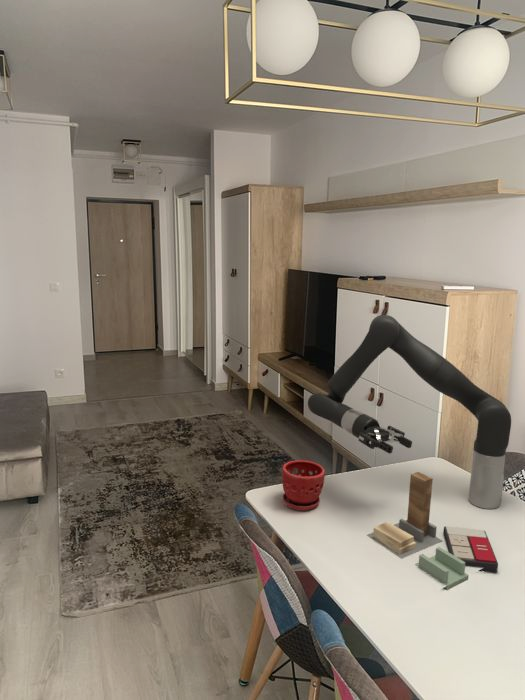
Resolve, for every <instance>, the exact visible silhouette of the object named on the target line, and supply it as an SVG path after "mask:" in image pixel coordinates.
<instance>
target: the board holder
mask: <svg viewBox="0 0 525 700" xmlns="http://www.w3.org/2000/svg"><path fill="white" fill-rule="evenodd" d="M465 563H466V562H464V561H462V560H461V559H459V558H457V557H456V556H454V555H452V554H451V553H449V552H448V550H445V549H444V548H443V547H441V546H437V547H436V548H435V555H432V556H430V557H428V556H427V555H425V554H424V553H421V554H419V555H418V562H417V563H416V564H414V565H415V566H416V567H417V568H419V569H420V570H422V571H423V572H425V573H427V574H428V575H429V576H431V577H433V579H436V580H437V581H439V582H440V583H442V584H443V585H445V586H444V587H443V589H444V590H445V591H448V590H450V589H452V588H454V587H457V586H458V585H460V584H462V583H464V582H466V581H468V580H469V574H468V573H466V572H465V571H466V566H465Z"/></svg>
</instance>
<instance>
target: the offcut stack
mask: <svg viewBox="0 0 525 700" xmlns="http://www.w3.org/2000/svg"><path fill="white" fill-rule="evenodd" d="M372 533H373V537H374V538H376V539H377V540H379V541H380V542H382V543H383V544H385V545H386V546H388V547H389V548H391V549H392V550H394V551H395V552H397V553H398V554H402V553H405V552H407V551H410V550H412V549H414V548H416V542H414V536H412V535H410V534H409V533H407V532H405V531H403V530H401V529H399V528H398V527H396V526H394V524H392V523H390V522H389V521H385V522H383V523H381V524H378V525H377V526H374V527H373V531H372Z"/></svg>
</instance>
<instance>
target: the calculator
mask: <svg viewBox="0 0 525 700" xmlns="http://www.w3.org/2000/svg"><path fill="white" fill-rule="evenodd" d="M442 532H443V534H442V535H443V538H444V542H445V545H446V548H447V552H449V553H451V554H452V555H454V556H456V557H457V558H459V559H461V560H462V561H464V562H466V563H465V567H466V566H467V567H474V568H481V569H479V570H478V571H477V572H482V571H484V573H491V572H492V573H493V574H497V573H498V568H499V563H498V560H497V558H496V555H495V553H494V550H493V549H494V548H493V547H492V544H491V542H490V540H489V537H488V535H487V532H486V530H484V529H481V528H479V529H477V528H471V527H470V528H468V527H458V526H447V525H445V526H443V531H442Z"/></svg>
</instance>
